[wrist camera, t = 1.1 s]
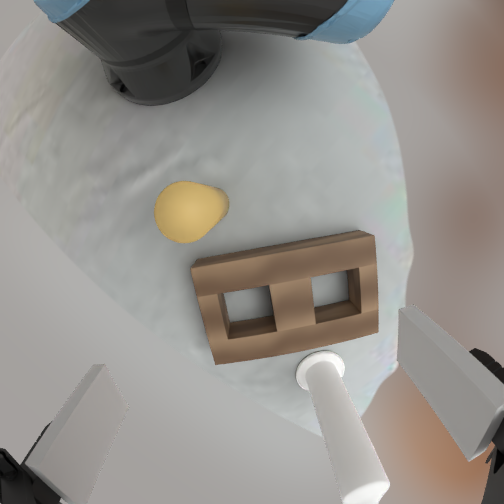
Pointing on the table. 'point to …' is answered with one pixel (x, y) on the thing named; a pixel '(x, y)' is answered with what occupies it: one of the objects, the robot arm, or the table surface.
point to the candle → (342, 430)
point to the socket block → (289, 296)
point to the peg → (189, 210)
